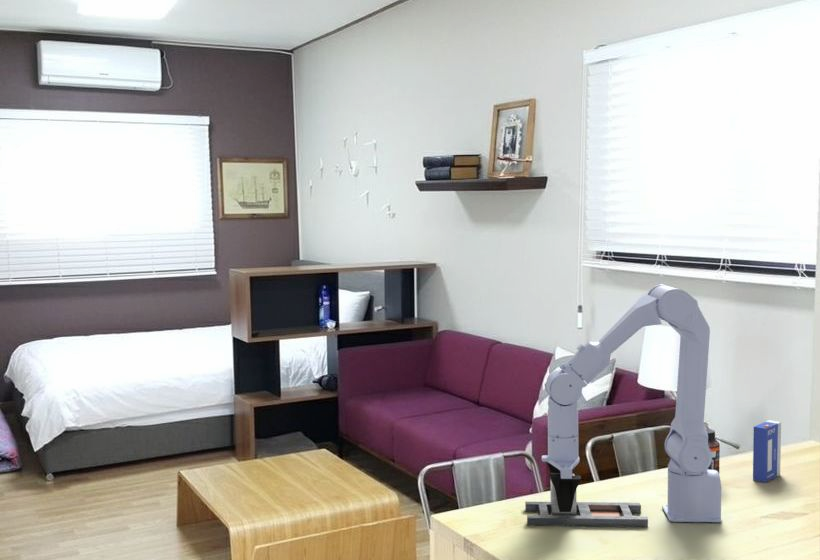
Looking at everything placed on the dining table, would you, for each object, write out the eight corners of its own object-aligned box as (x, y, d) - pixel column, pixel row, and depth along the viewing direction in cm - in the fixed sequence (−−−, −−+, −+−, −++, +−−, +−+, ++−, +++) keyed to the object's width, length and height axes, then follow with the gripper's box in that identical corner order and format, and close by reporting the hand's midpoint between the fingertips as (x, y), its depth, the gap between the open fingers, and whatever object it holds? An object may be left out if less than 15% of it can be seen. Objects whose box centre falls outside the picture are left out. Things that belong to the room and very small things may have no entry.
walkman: (765, 482, 184) (766, 427, 183) (752, 480, 186) (753, 424, 185) (781, 474, 190) (782, 420, 189) (768, 471, 192) (769, 418, 191)
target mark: (618, 513, 168) (618, 511, 168) (622, 523, 163) (622, 521, 163) (589, 512, 168) (589, 511, 168) (593, 523, 163) (593, 521, 163)
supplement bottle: (721, 487, 182) (721, 434, 181) (691, 486, 183) (691, 433, 182) (717, 478, 188) (717, 427, 187) (688, 477, 189) (688, 426, 188)
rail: (639, 510, 169) (639, 502, 169) (647, 527, 160) (647, 519, 160) (525, 508, 171) (525, 501, 171) (527, 525, 162) (527, 517, 162)
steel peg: (574, 513, 168) (574, 473, 168) (576, 522, 164) (576, 480, 163) (550, 513, 169) (550, 473, 168) (552, 522, 164) (552, 480, 163)
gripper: (539, 424, 172) (539, 491, 174) (544, 444, 158) (544, 517, 159) (575, 424, 172) (575, 491, 173) (583, 444, 157) (583, 518, 159)
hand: (563, 504), depth 166 cm, fingers open, 7 cm apart
